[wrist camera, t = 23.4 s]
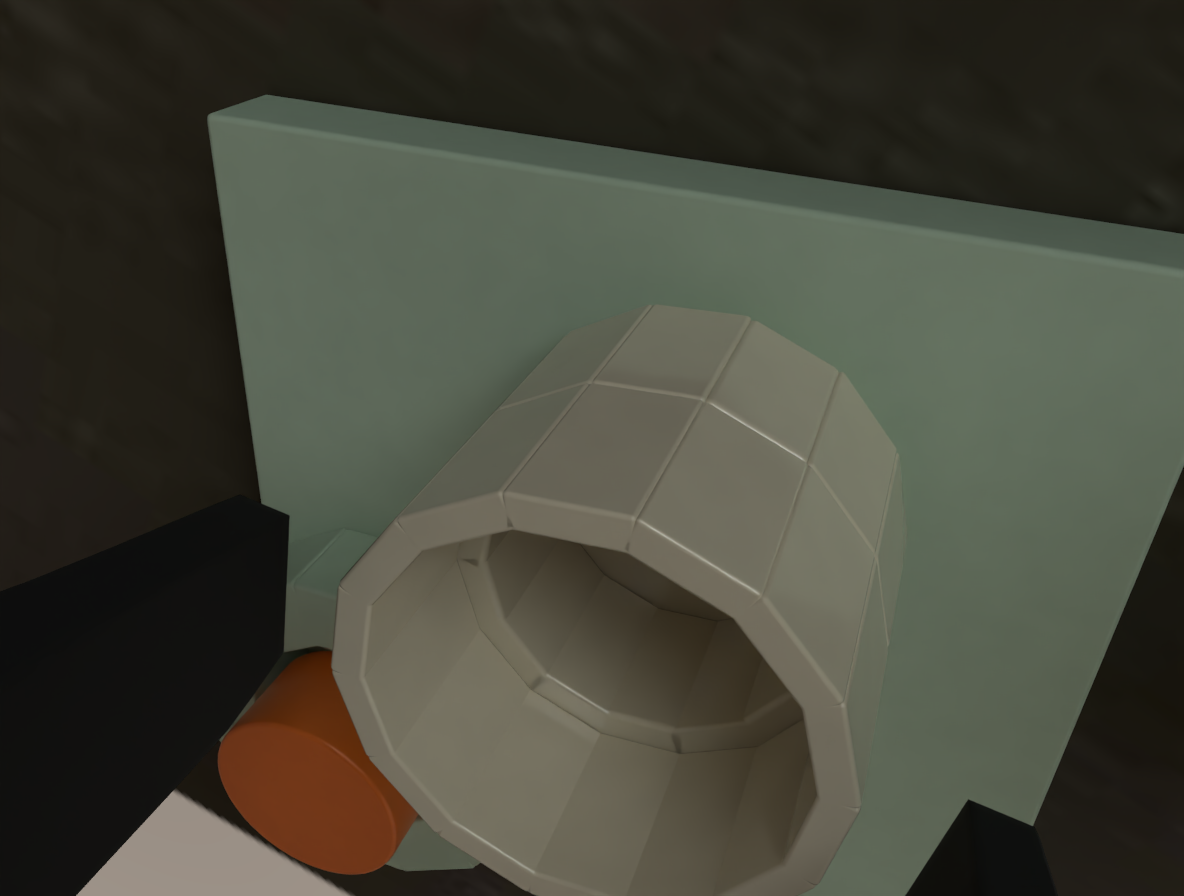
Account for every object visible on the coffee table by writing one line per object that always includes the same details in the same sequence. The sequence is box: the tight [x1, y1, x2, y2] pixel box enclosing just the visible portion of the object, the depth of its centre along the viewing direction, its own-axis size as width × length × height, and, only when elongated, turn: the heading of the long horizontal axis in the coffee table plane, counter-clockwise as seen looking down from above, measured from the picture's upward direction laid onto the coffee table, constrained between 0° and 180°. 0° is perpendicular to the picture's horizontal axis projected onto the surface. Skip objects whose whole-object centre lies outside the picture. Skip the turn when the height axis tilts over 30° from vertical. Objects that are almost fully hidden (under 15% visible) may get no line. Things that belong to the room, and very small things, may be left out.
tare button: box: [218, 651, 419, 875], centre depth 17 cm, size 3×3×2 cm
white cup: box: [331, 304, 908, 896], centre depth 12 cm, size 5×6×5 cm
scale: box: [207, 95, 1184, 896], centre depth 16 cm, size 14×12×3 cm
